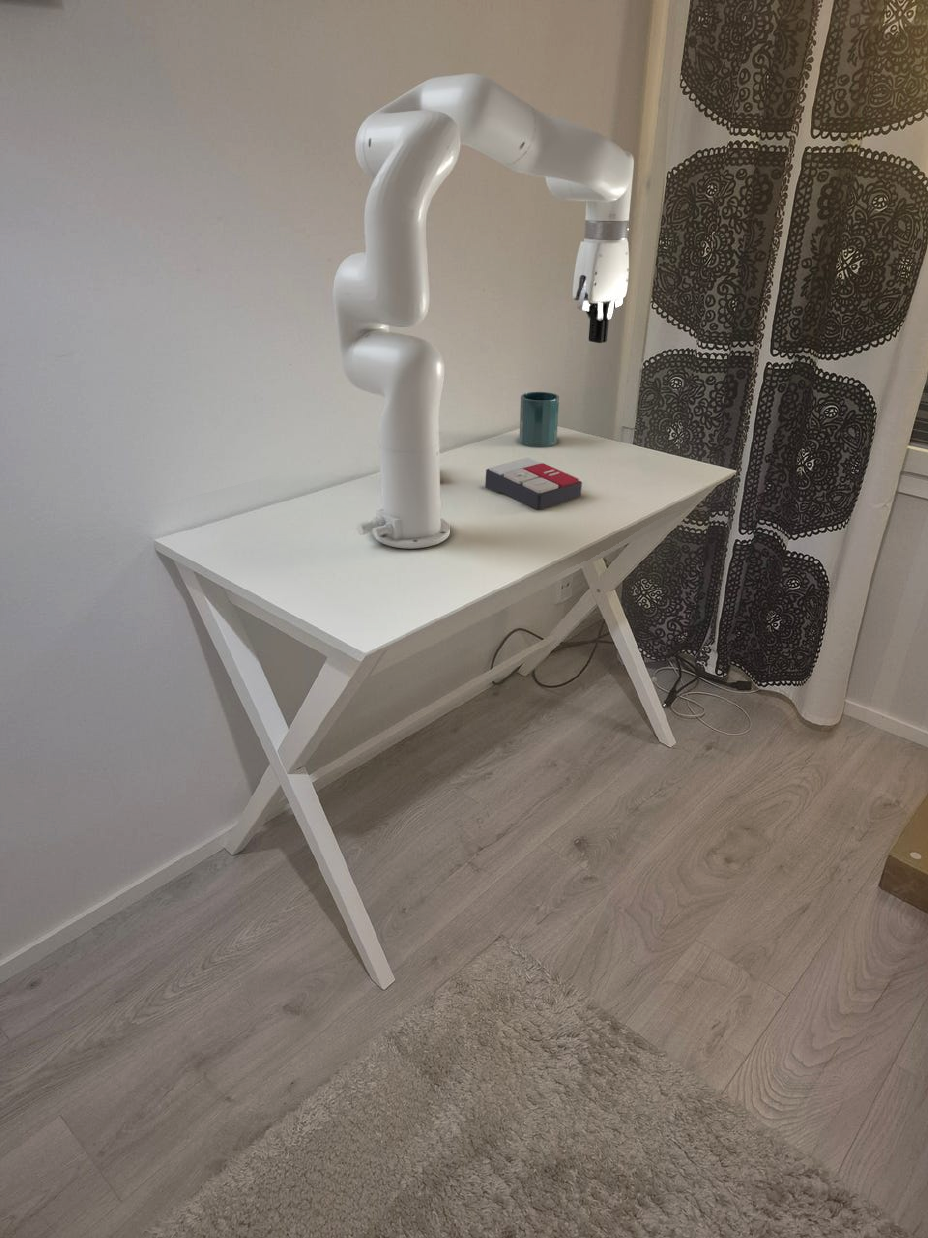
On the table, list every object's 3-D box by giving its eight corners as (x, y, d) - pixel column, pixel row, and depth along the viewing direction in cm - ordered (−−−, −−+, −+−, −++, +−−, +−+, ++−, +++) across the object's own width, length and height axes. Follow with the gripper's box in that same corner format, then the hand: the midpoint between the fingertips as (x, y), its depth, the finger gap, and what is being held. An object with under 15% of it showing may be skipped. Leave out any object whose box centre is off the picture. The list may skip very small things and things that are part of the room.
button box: (539, 491, 141) (485, 465, 151) (537, 513, 143) (484, 486, 153) (583, 478, 147) (528, 454, 157) (581, 499, 149) (526, 474, 159)
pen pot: (537, 449, 174) (539, 403, 169) (512, 440, 180) (513, 395, 175) (564, 442, 178) (566, 396, 174) (538, 433, 184) (540, 389, 179)
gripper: (618, 229, 147) (610, 334, 156) (560, 233, 139) (554, 343, 148) (650, 231, 142) (639, 339, 151) (591, 235, 133) (583, 349, 142)
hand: (597, 341), depth 149 cm, fingers closed
